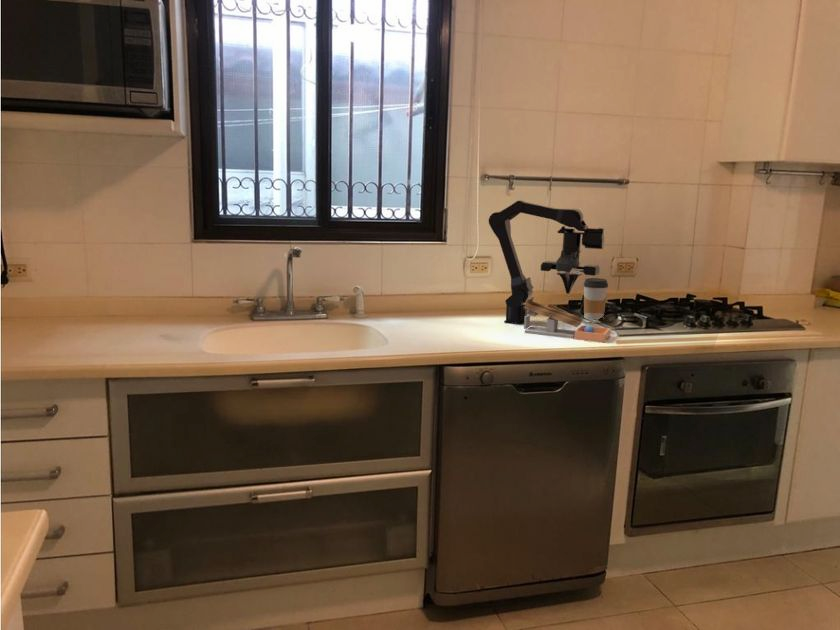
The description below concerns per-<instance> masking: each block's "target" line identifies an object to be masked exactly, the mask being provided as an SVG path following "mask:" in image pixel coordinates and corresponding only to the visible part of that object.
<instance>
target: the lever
mask: <svg viewBox="0 0 840 630" xmlns="http://www.w3.org/2000/svg"><path fill="white" fill-rule="evenodd" d="M524 305H525V309H527V315H530V317H531V316H532V317H536V316H537V315H542V316H544V317H548V318H553V319H555V320H558V322H562V323H564V324H567V325H570V326H572V327H576V328H579V327H580V325H581V324H582V323H583V320H584V318H583V317H581V316H580V315H577V314H569V313H566V312H563V311H561V310H557V309H555V308H552V307H549V306H546V305H543V304H541V303H537V302H535V301H534V297H532V296H531V297H530V298H529V299H527V301H526V303H525V304H524Z"/></svg>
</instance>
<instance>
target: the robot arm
mask: <svg viewBox="0 0 840 630" xmlns="http://www.w3.org/2000/svg"><path fill="white" fill-rule="evenodd" d="M520 214H525V215H530V216H534V217H535V216H536V217H538V218H543V219H544V218H545V219H549V220H553V221H555V222H557V223H559V224H561V225H562V226H561V228H560V229H559V230H557V231H556V232H557V234H563V235H562V236H563V237H562V248H561V249H562V250H561V252H560V256H559V257H558V258H557V260H556V261H554V260H553V261H552V260H551V261H550V260H546V261H543V262H542V263H541V264H540V271H542V272H550V271H551V270H556V275H558V276H560V278H561V280H562V282H563V286H564V289H565V293H566V294H568V295H569V294H570V293H571V291H572V289H573V287H574V285H575V282H576V281H577V279H578V278H579V277H581V276H582V275H583V274H584V275H585V276H597V275H600V271H601V270H600V269H601V268H600V266H599V265H597V264H586V265H580V263H581V262H580V256H581V255H580V254H581V245H582V246H584V249H591V250H592V249H595V250H603V249H604V245H605V233H604V232H605V228H603V227H598V228H592V227H591V228H589V226H588V225H587V223H586V222H585V220H584V214H583V212H582V211H581V210H580V209H579V208H555V207H550V206H545V205H542V204H541V205H540V204H537V203H532V202H528V201H527V202H526V201H524V200H516V201H514V202H513V203H511V204H510V205H509V206H507V207H505V208H504V209H502V210H501V211H497V212H493V213H492V214H490V215H489V217H488V225H489V226H490V228H491V230H492V232H493V234H494V235H495V236H496V238H497V239H498V242H499V245H500V248H501V251H502V254H503V257H504V260H505V263H506V267H507V269H508V273H509V276H510V288H511V295H510V296H508V298H507V299H505V301H504V302H505V304H506V307H505V308H506V310H505V311H506V312H505V320H504V321H503V322H504V323H506V324H507V323H508V324H516V325H524V318H525V316H527V315H528V310H527V309H525V305H526V302H527V299H529V298H531V297H532V295H533V289H534V288H535V287H534V286H533V284H532V280H531V279H532V278H531V277H527V278H526V276H525V274H524V273H523V271H522V270H523V269H522V268H521V264H520V260H519V257H518V254H517V252H516V251H517V250H516V248H515V244H514V241H513V237H512V235H511V234H512V228H511V221H512V220H513V219H514V218H516V217H517V216H518V215H520ZM567 227H568V228H567ZM576 230H577V231H576Z"/></svg>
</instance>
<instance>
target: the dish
mask: <svg viewBox="0 0 840 630" xmlns="http://www.w3.org/2000/svg"><path fill="white" fill-rule="evenodd" d="M587 326H588V325H583V324H582V325H581V326H579V327H577V329H576V331H575V337H574V340H579V341H589V342H595V343H596V342H597V343H602V344H603V343H606V341H607V340H608V339H609V338H610V337H611V329H612V328H611V327H610V328H609V327H602V326H592V327H593V328H594V333H591V332H584V329H585V327H587Z"/></svg>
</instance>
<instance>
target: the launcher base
mask: <svg viewBox="0 0 840 630" xmlns="http://www.w3.org/2000/svg"><path fill="white" fill-rule="evenodd" d="M523 325H524V326H523V329H524V334H532V335H540V336H548V337H556V338H557V337H558V338H566V339H575V331H576V330H577V329H576V330H574V329H566V328H558V327H559V321H558V320H555V319H553V318H549V317H548V318H547V319H546V327H545V326H540V325H539V326H538V325H531V315H529V314H527V316H525V318H524V323H523ZM530 325H531V326H530Z"/></svg>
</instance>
